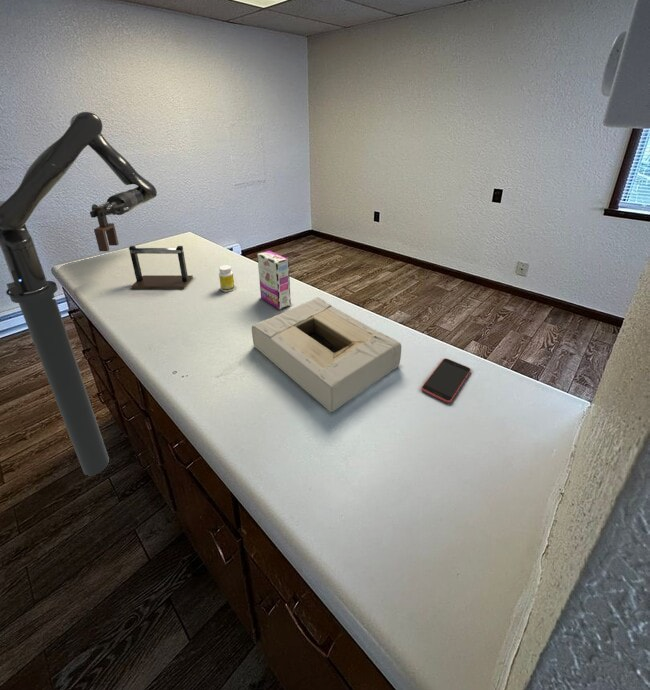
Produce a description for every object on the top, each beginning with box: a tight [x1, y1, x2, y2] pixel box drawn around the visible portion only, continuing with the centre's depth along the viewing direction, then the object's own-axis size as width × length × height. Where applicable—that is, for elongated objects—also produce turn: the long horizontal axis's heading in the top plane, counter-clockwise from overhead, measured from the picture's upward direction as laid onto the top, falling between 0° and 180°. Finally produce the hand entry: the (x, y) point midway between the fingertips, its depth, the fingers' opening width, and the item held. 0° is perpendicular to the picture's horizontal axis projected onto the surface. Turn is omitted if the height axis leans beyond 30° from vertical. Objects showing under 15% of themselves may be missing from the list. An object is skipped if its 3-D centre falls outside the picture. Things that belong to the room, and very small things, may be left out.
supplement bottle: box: [218, 264, 235, 293], centre depth 127 cm, size 5×5×8 cm
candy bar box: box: [256, 250, 292, 311], centre depth 117 cm, size 11×5×16 cm, turn 42°
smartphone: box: [421, 358, 472, 404], centre depth 84 cm, size 7×1×14 cm
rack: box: [128, 245, 194, 290], centre depth 130 cm, size 9×19×15 cm, turn 89°
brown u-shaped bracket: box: [93, 205, 120, 252], centre depth 128 cm, size 7×3×15 cm, turn 179°
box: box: [251, 296, 402, 413], centre depth 92 cm, size 23×8×32 cm
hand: (95, 214), depth 123 cm, fingers closed on brown u-shaped bracket, 2 cm apart
